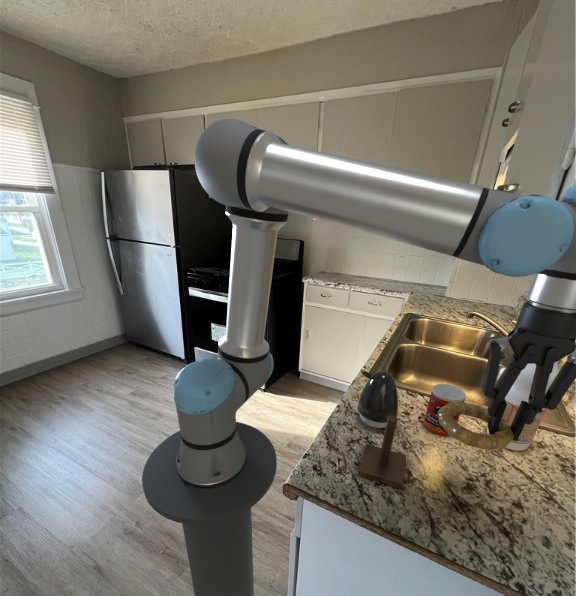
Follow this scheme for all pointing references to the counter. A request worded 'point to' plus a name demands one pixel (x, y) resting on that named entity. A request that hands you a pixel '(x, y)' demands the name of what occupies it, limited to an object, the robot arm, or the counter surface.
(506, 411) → the fruit juice
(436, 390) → the canned food
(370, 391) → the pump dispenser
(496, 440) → the ring
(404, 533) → the counter surface
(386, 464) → the post
